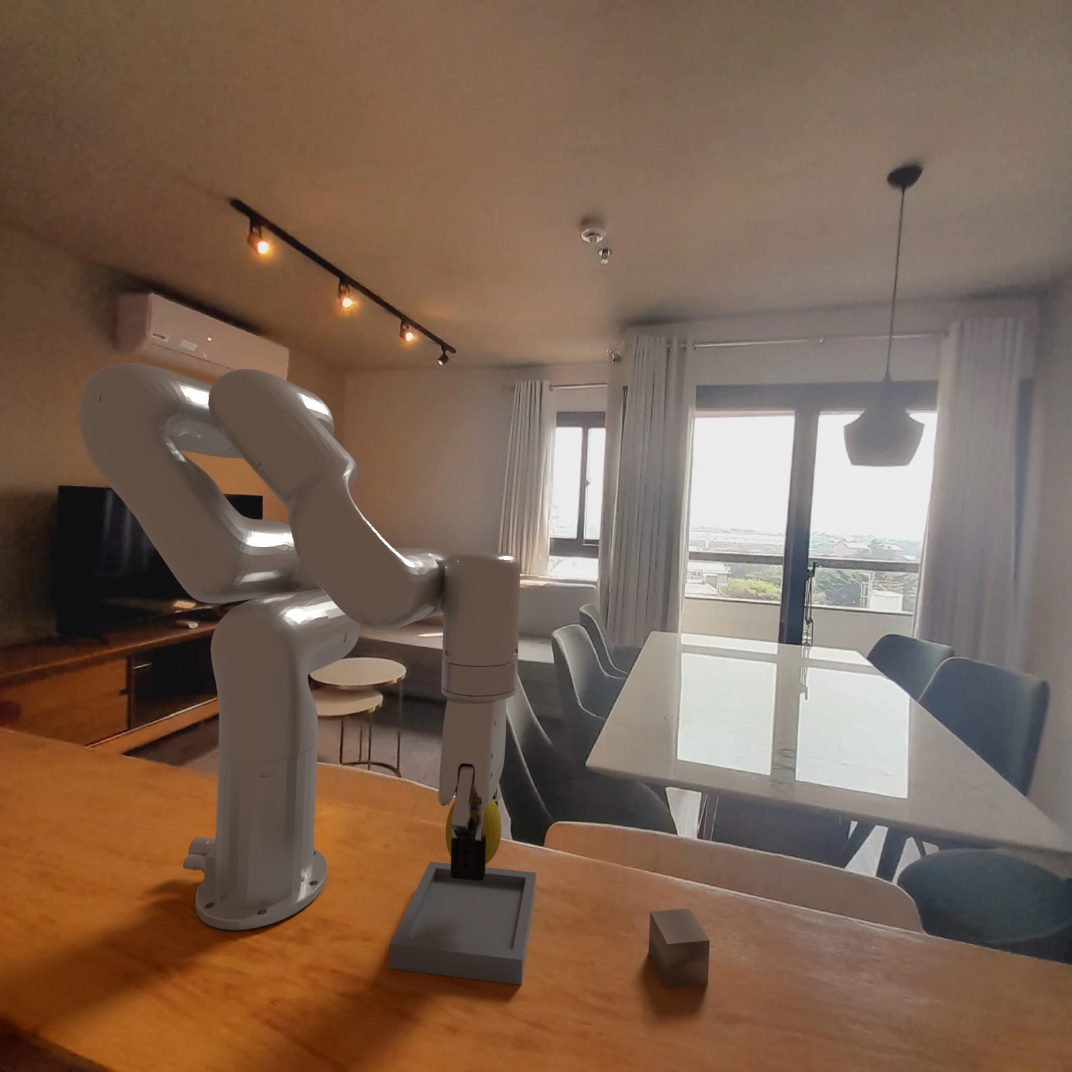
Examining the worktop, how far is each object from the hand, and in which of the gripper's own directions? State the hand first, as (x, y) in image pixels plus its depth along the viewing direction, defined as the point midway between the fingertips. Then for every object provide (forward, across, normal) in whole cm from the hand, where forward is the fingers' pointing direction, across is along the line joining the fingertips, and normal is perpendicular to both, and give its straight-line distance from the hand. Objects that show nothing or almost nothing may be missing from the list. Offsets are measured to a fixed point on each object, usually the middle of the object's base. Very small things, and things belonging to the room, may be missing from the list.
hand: (475, 855), depth 53 cm
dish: (+7, 0, 0) cm, 7 cm away
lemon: (+2, 0, 0) cm, 2 cm away
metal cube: (+8, +2, +20) cm, 21 cm away
